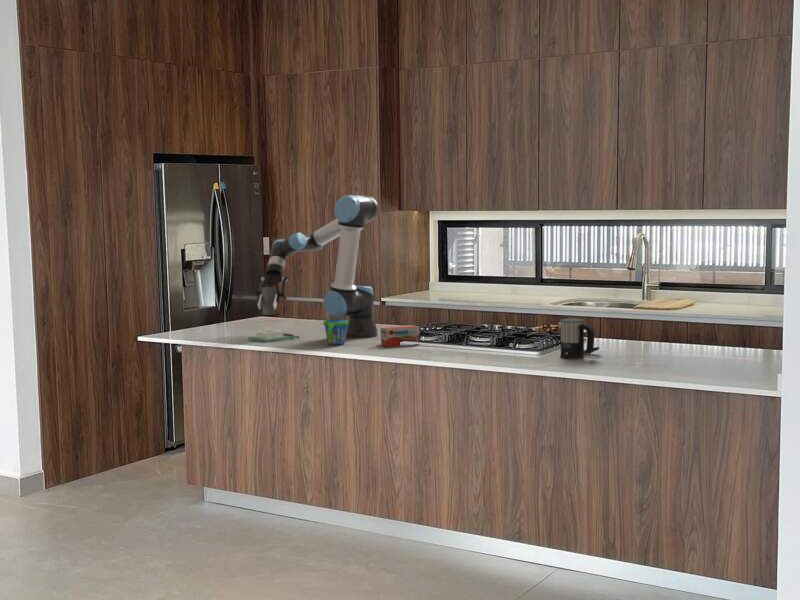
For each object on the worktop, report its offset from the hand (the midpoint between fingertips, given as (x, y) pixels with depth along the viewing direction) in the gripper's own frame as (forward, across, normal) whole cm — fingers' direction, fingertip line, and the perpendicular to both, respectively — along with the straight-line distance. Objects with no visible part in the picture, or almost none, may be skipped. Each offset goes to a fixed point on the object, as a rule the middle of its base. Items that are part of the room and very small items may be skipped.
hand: (266, 307), depth 428 cm
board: (+7, -1, -14) cm, 16 cm away
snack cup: (+17, -33, -4) cm, 37 cm away
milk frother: (+34, -136, +14) cm, 141 cm away
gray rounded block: (0, 0, -5) cm, 5 cm away
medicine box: (+17, -61, -5) cm, 64 cm away
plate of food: (-12, -130, -34) cm, 135 cm away
